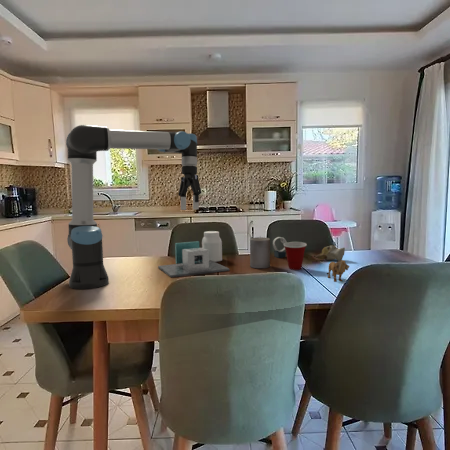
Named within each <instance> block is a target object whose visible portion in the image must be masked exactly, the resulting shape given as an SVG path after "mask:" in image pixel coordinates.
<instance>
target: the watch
mask: <svg viewBox="0 0 450 450" xmlns="http://www.w3.org/2000/svg"><path fill="white" fill-rule="evenodd" d="M278 239H280V242H281V244H282V245H283V248H282V249H280V250H279V249H278V247H277V246H276V241H278ZM284 243H287V240H286V238H284V236H283V237H281V236H277V237H275V238H274V239H273V240H272V247H273V249H274V252H273V253H274V257H275V258H277V259H284V258H283V257H286V258H287V255H286V250H285V247H284Z"/></svg>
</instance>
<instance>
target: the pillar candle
mask: <svg viewBox="0 0 450 450" xmlns="http://www.w3.org/2000/svg"><path fill="white" fill-rule="evenodd" d="M249 267H250V268H253V269H268V268H270V267H271V239H270V238H269V237H261V236H259V237H252V238H250V239H249Z"/></svg>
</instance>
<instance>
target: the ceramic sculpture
mask: <svg viewBox="0 0 450 450" xmlns="http://www.w3.org/2000/svg"><path fill="white" fill-rule="evenodd" d="M345 250H346V248H345V247H340V248H339V247H336V245H334V244H332V243H330V245H329V246H324V247H323V248H322V249H321V252H320V253H319V254H317V255H313V258H316V259H318V260H326V261H334V260H336V262H338V261H341V260H343V258H344V256H345V252H346V251H345Z"/></svg>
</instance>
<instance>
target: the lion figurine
mask: <svg viewBox="0 0 450 450" xmlns="http://www.w3.org/2000/svg"><path fill="white" fill-rule="evenodd" d="M349 268H350V265H348V264H347V263H346V260H343V259H342V260H341V261H336V262H335V261H330V263H329V264H328V272H326V275H327V278H328V279H331V277H333V282H334V283H337V276H338V281H339V282H342V281H343V279H342V275H343V274H344V273H345V272H346V271H349ZM331 272H332V273H331Z"/></svg>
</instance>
